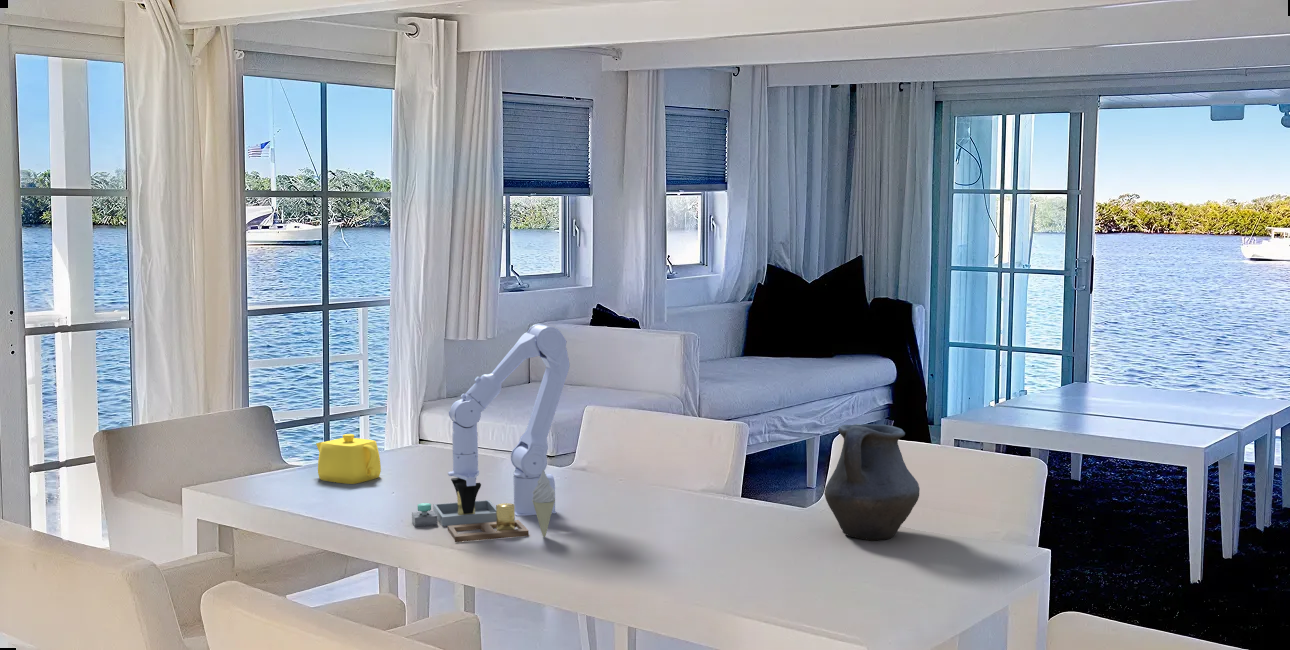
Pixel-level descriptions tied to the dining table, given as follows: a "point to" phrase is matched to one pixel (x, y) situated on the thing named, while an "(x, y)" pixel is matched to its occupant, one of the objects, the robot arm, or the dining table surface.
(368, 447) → the teapot
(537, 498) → the ice cream cone
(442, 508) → the tray
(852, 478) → the pitcher
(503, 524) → the cylinder
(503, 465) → the dining table surface
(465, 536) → the board
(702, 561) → the dining table surface
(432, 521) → the button housing
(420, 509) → the button
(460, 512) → the block
